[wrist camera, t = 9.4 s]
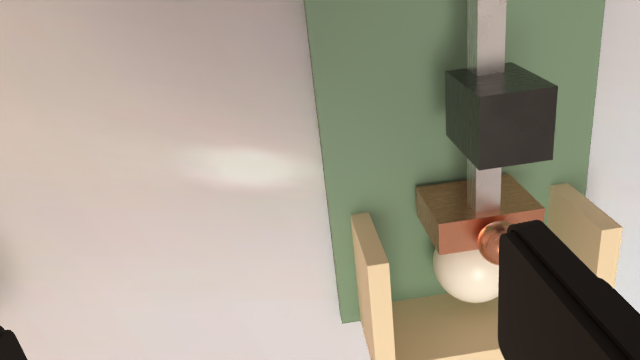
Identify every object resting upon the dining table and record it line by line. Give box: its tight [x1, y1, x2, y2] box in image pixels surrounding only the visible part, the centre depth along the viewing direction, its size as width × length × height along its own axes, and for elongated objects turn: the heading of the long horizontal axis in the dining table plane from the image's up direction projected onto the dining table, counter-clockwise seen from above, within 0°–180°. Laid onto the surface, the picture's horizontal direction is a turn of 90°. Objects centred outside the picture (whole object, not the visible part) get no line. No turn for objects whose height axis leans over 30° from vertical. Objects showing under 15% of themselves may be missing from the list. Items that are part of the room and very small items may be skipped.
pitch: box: [304, 0, 623, 360], centre depth 31 cm, size 32×17×7 cm, turn 6°
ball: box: [433, 248, 499, 303], centre depth 35 cm, size 5×5×5 cm
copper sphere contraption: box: [416, 0, 558, 265], centre depth 29 cm, size 14×6×8 cm, turn 6°
